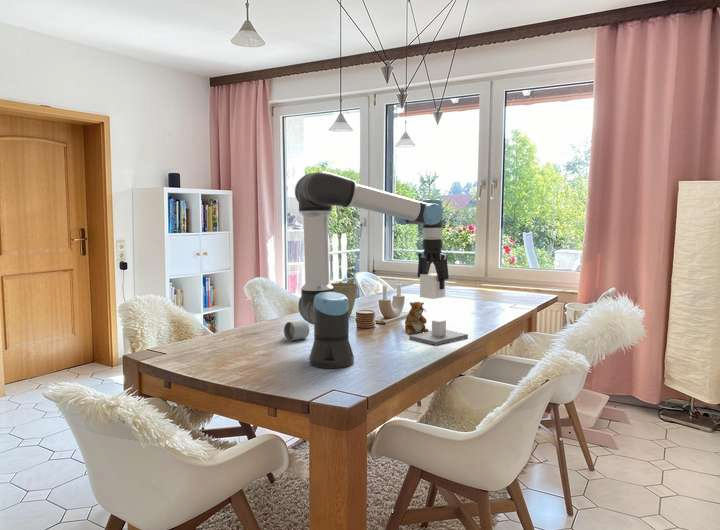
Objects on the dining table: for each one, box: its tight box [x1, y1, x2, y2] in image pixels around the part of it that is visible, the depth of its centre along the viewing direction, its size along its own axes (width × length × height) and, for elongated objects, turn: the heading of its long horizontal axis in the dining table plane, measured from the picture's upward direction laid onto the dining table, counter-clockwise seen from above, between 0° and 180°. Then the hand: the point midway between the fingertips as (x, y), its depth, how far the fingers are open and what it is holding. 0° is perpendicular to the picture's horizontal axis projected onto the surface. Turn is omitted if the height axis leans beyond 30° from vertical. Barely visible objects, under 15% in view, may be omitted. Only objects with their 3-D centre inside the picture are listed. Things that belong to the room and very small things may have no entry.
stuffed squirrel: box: [404, 301, 430, 335], centre depth 227 cm, size 10×14×13 cm
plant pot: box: [330, 282, 358, 317], centre depth 261 cm, size 15×15×16 cm
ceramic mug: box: [283, 320, 310, 342], centre depth 212 cm, size 11×8×8 cm
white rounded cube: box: [419, 272, 446, 300], centre depth 207 cm, size 7×7×9 cm
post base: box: [408, 318, 469, 346], centre depth 213 cm, size 20×14×8 cm
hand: (432, 296), depth 207 cm, fingers closed on white rounded cube, 7 cm apart
